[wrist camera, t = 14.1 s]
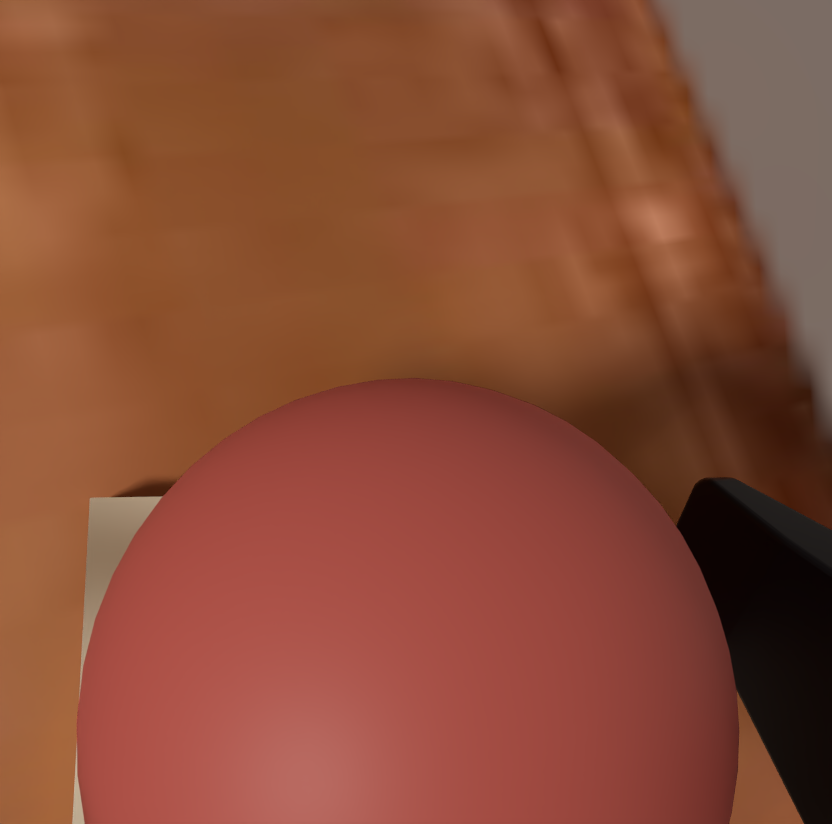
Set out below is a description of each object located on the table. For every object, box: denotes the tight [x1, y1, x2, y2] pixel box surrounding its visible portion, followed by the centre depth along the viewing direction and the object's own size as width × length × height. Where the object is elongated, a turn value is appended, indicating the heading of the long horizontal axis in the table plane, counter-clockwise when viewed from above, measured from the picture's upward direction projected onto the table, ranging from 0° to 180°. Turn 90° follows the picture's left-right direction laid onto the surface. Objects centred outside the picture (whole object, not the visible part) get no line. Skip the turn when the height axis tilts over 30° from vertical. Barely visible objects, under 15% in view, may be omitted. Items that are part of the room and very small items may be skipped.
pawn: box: [77, 378, 739, 824], centre depth 8 cm, size 5×5×12 cm
